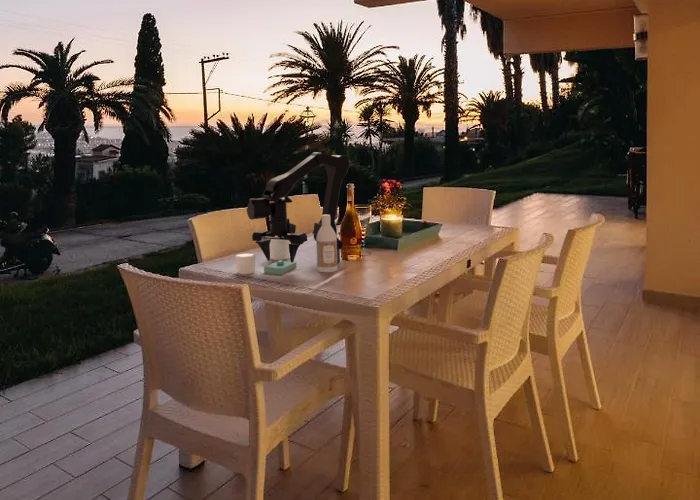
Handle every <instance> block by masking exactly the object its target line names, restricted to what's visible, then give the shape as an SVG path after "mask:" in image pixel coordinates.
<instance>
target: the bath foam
mask: <svg viewBox="0 0 700 500" xmlns="http://www.w3.org/2000/svg"><path fill="white" fill-rule="evenodd" d="M321 218H322V226H321V228H320V230H319V231H318V234H317V238H316V241H315V242H316V270H317V272H321V273H333V272H336V271H338V263H337V238H338V236H337V237H336V234H335V232H334V230H333V228H332V227H331V225H330V215H328V214H325V215H322V214H321Z"/></svg>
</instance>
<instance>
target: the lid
mask: <svg viewBox="0 0 700 500" xmlns="http://www.w3.org/2000/svg"><path fill="white" fill-rule="evenodd" d="M295 268H297V262H296V261H294V262H293V263H291V261H288V260H276V261H275V262H273V263H270V264H268V265H265V266H264V267H263V271H264V273H263V274H271V273H273V275H282V274H284V273H286V272H288V271H291V270H293V269H295Z"/></svg>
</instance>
